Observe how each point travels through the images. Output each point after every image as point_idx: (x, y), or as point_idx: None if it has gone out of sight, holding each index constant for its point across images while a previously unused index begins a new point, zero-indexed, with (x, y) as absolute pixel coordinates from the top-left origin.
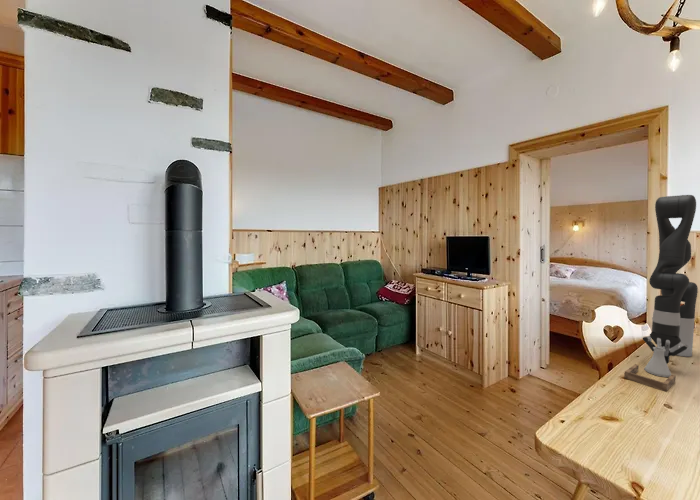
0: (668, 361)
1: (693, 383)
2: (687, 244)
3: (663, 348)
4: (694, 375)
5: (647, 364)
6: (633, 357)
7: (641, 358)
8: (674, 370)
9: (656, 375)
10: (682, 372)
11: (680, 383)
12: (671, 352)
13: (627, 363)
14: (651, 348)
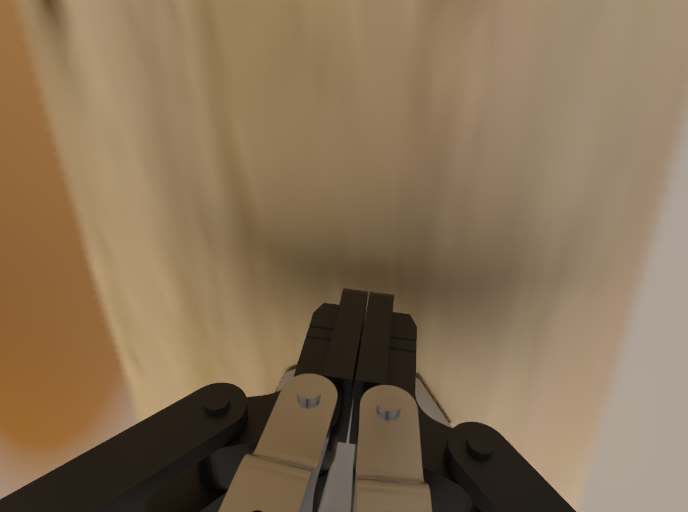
0: (411, 342)
1: (587, 450)
2: None
3: (316, 475)
4: (653, 237)
5: None
6: (61, 111)
7: (119, 61)
8: (470, 233)
9: None
10: (543, 234)
11: None
12: (440, 502)
13: (138, 361)
14: (187, 490)
